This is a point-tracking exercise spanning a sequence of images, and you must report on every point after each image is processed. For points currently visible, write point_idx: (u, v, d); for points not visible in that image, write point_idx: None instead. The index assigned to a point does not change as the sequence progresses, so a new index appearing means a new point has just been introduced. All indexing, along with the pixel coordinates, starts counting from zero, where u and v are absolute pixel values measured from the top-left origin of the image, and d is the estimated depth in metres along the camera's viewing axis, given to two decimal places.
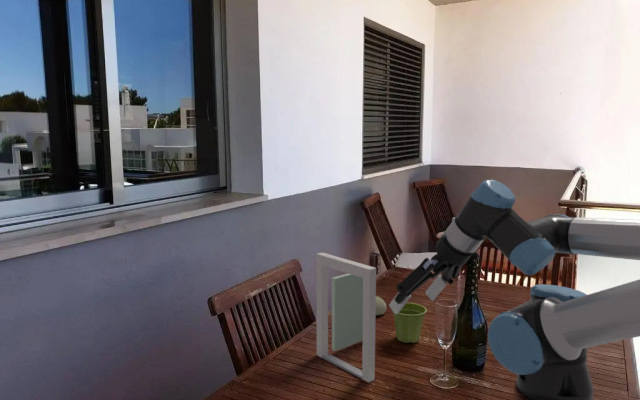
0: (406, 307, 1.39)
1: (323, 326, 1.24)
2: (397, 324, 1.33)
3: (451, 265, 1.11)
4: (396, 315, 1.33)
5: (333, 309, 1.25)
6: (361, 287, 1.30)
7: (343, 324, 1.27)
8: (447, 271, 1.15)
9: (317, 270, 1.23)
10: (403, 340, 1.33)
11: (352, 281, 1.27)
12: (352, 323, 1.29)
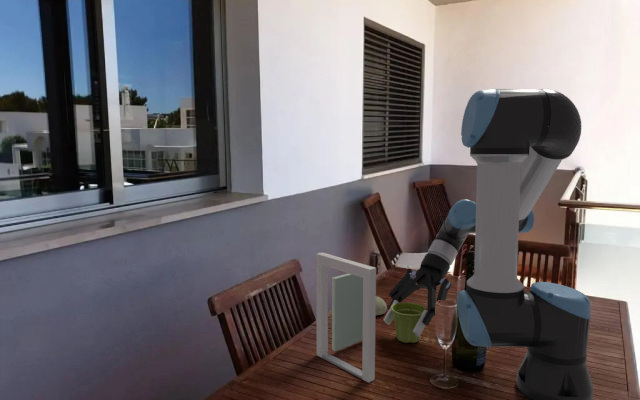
0: (406, 307, 1.39)
1: (323, 326, 1.24)
2: (397, 324, 1.33)
3: None
4: (396, 315, 1.33)
5: (333, 309, 1.25)
6: (361, 287, 1.30)
7: (343, 324, 1.27)
8: None
9: (317, 270, 1.23)
10: (403, 340, 1.33)
11: (352, 281, 1.27)
12: (352, 323, 1.29)
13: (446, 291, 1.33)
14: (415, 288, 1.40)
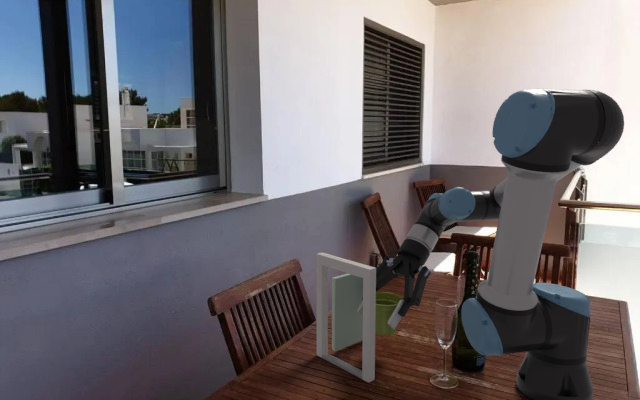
0: (382, 297, 1.28)
1: (323, 326, 1.24)
2: None
3: None
4: None
5: (333, 309, 1.25)
6: (361, 287, 1.30)
7: (343, 324, 1.27)
8: None
9: (317, 270, 1.23)
10: (378, 333, 1.22)
11: (352, 281, 1.28)
12: (352, 322, 1.29)
13: (425, 279, 1.22)
14: (392, 277, 1.29)
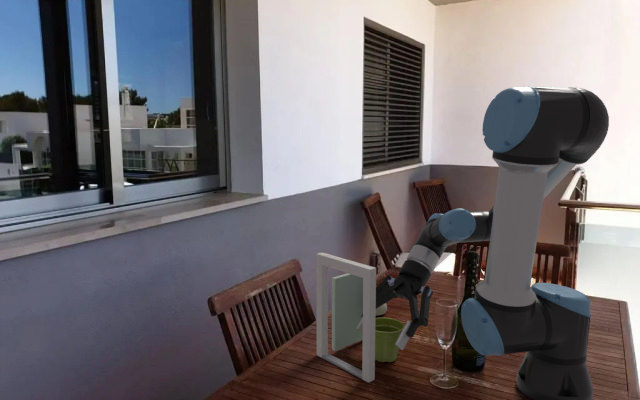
0: (383, 322, 1.28)
1: (323, 326, 1.24)
2: None
3: None
4: None
5: (333, 309, 1.25)
6: (360, 287, 1.30)
7: (343, 324, 1.27)
8: None
9: (317, 270, 1.23)
10: (379, 359, 1.22)
11: (351, 281, 1.28)
12: (352, 322, 1.29)
13: (428, 299, 1.22)
14: (392, 296, 1.29)
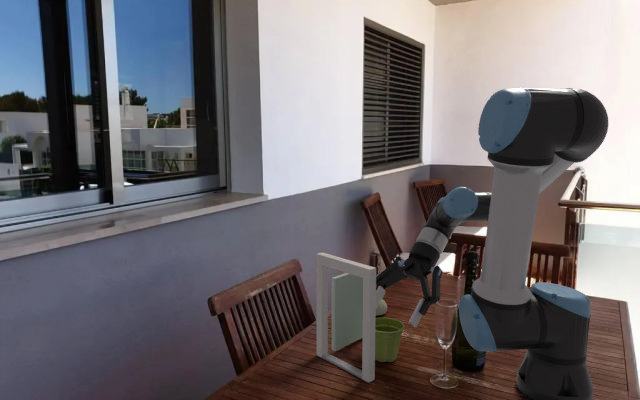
0: (383, 322, 1.28)
1: (323, 326, 1.24)
2: None
3: None
4: None
5: (333, 309, 1.25)
6: (358, 286, 1.31)
7: (342, 324, 1.27)
8: None
9: (317, 270, 1.23)
10: (379, 359, 1.22)
11: (350, 280, 1.28)
12: (350, 322, 1.30)
13: (439, 278, 1.26)
14: (402, 277, 1.33)
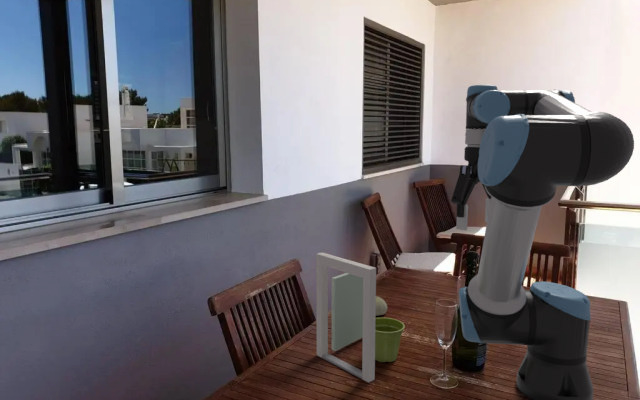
0: (383, 322, 1.28)
1: (323, 326, 1.24)
2: None
3: None
4: None
5: (333, 309, 1.25)
6: (358, 286, 1.31)
7: (342, 324, 1.27)
8: None
9: (317, 270, 1.23)
10: (379, 359, 1.22)
11: (350, 280, 1.28)
12: (350, 322, 1.30)
13: None
14: None
